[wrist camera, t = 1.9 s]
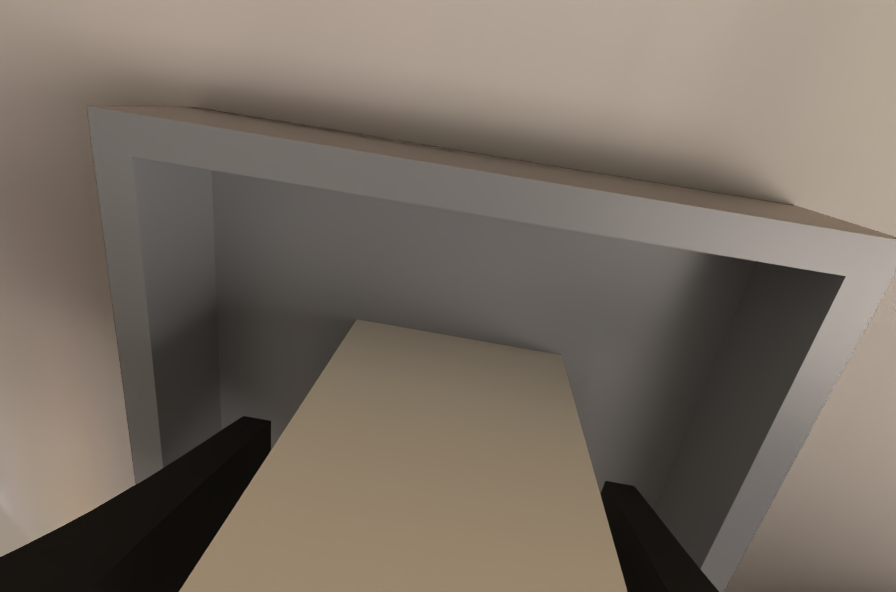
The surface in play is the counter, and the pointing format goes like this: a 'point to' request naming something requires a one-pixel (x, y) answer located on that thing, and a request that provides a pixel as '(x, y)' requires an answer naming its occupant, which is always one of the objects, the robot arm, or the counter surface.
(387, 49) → the counter surface
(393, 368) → the block
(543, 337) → the gray square tray
